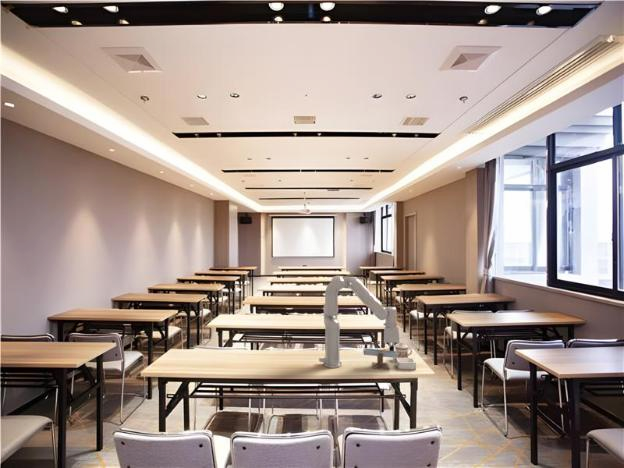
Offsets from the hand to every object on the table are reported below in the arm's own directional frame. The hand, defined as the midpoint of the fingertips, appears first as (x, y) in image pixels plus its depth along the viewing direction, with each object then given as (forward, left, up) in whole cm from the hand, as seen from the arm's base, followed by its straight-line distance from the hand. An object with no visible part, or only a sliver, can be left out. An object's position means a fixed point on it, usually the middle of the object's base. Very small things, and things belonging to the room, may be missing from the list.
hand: (391, 351), depth 249 cm
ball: (-6, -6, +2) cm, 8 cm away
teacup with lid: (+10, +10, -8) cm, 16 cm away
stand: (-8, -6, -8) cm, 13 cm away
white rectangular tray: (+9, -6, -8) cm, 13 cm away
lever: (-8, -3, 0) cm, 9 cm away
